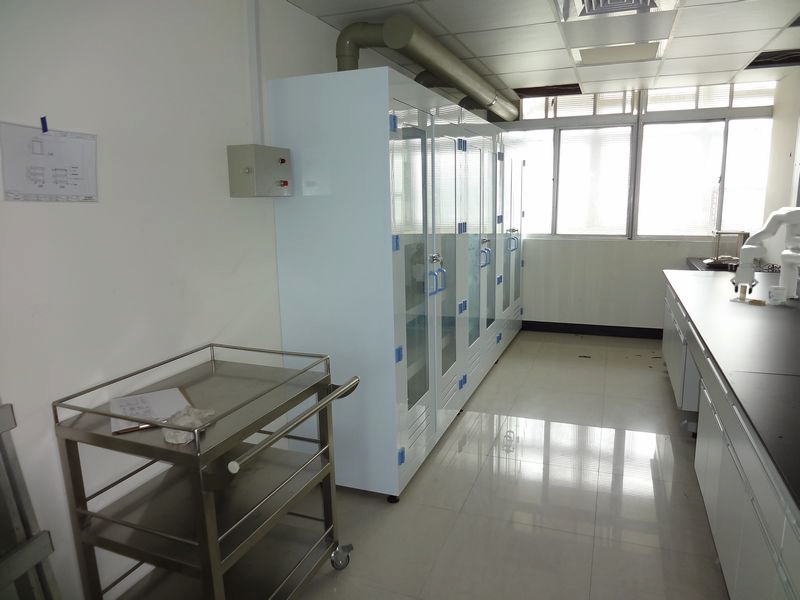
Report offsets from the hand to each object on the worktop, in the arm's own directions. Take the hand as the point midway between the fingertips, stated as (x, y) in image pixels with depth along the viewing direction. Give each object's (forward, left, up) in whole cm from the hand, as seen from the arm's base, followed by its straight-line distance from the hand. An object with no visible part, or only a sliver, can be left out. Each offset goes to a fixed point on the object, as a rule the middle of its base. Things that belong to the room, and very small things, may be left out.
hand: (743, 293), depth 348 cm
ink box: (-3, +18, -6) cm, 19 cm away
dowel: (0, 0, -5) cm, 5 cm away
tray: (0, 0, -6) cm, 6 cm away
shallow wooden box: (+6, +10, -6) cm, 13 cm away
